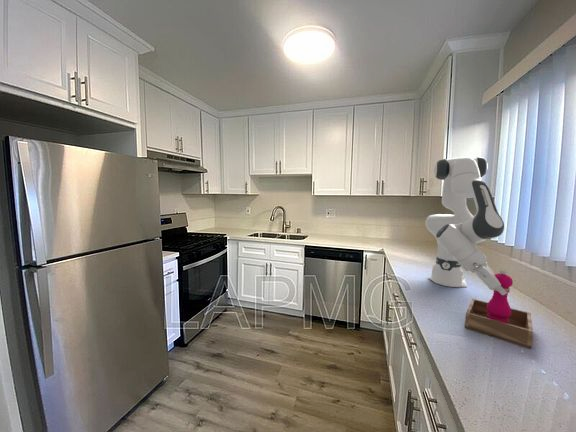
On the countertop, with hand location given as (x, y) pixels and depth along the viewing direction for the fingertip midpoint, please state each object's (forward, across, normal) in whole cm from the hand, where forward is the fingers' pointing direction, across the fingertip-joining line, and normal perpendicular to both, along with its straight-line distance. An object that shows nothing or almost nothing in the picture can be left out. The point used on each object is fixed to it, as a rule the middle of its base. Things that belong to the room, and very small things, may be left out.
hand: (503, 290), depth 92 cm
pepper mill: (+8, 0, +9) cm, 12 cm away
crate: (+10, 0, +11) cm, 15 cm away
